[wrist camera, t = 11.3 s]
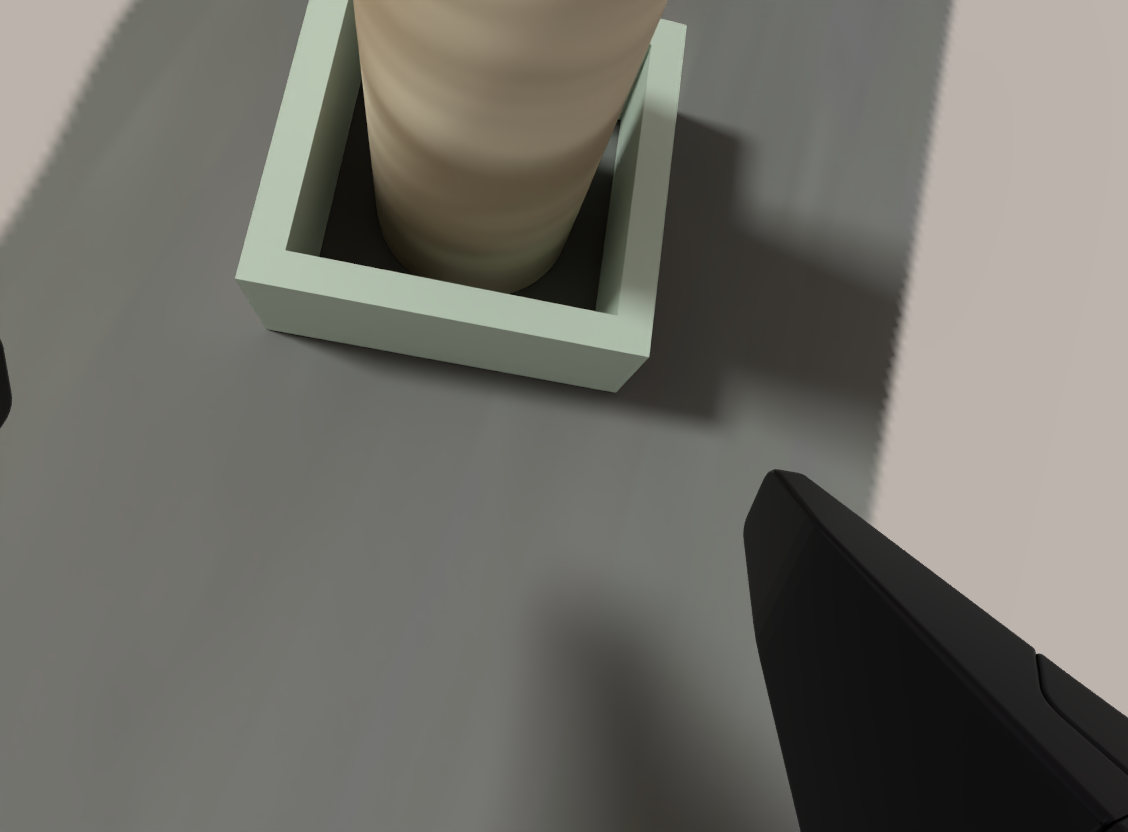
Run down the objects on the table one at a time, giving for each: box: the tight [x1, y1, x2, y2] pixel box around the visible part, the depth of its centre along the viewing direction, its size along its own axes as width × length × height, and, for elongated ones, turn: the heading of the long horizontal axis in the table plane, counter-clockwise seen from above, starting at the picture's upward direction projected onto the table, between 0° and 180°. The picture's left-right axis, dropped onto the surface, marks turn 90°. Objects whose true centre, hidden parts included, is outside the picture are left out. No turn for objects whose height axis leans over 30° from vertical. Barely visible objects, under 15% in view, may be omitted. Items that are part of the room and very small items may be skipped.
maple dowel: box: [353, 0, 668, 294], centre depth 13 cm, size 5×5×13 cm
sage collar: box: [235, 0, 687, 393], centre depth 18 cm, size 9×9×3 cm
